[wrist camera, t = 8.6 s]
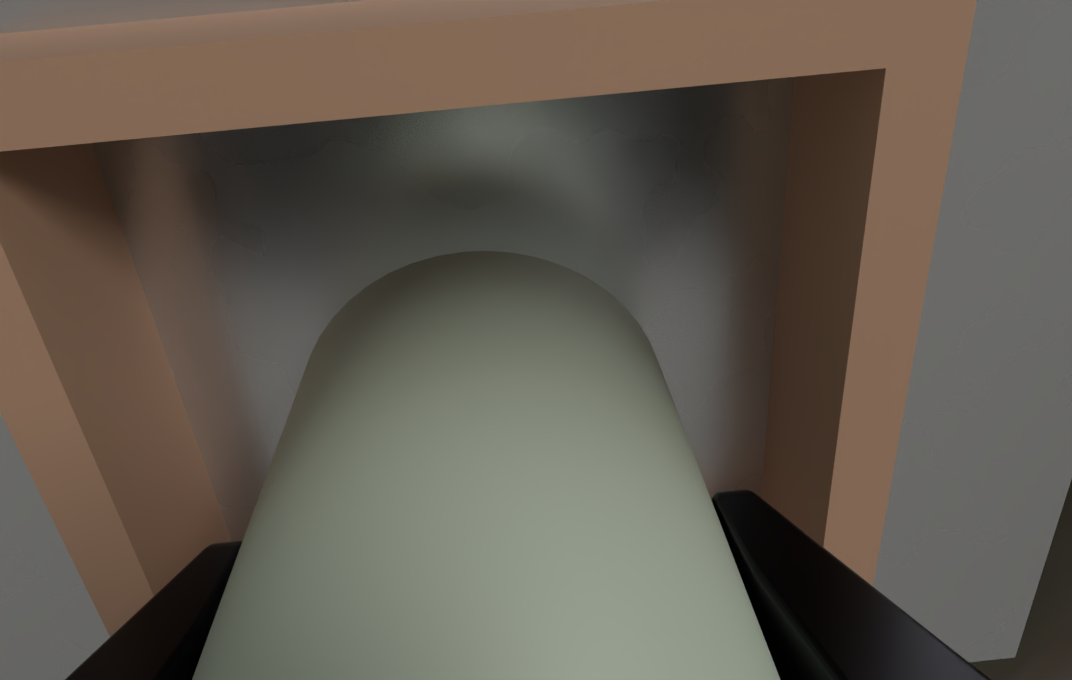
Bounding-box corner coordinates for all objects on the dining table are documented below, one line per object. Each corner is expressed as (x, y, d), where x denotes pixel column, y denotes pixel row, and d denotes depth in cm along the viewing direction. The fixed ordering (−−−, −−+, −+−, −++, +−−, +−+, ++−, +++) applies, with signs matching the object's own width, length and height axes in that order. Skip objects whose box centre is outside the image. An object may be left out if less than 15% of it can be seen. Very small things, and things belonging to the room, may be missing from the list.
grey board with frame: (1135, -307, 11) (1639, -460, 6) (940, 551, 19) (1098, 774, 14) (-336, -181, 11) (-995, -241, 6) (86, 641, 19) (-50, 903, 14)
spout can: (664, 231, 10) (959, 772, 4) (663, 612, 13) (822, 1227, 7) (261, 270, 10) (-94, 883, 4) (361, 643, 13) (259, 1293, 7)
